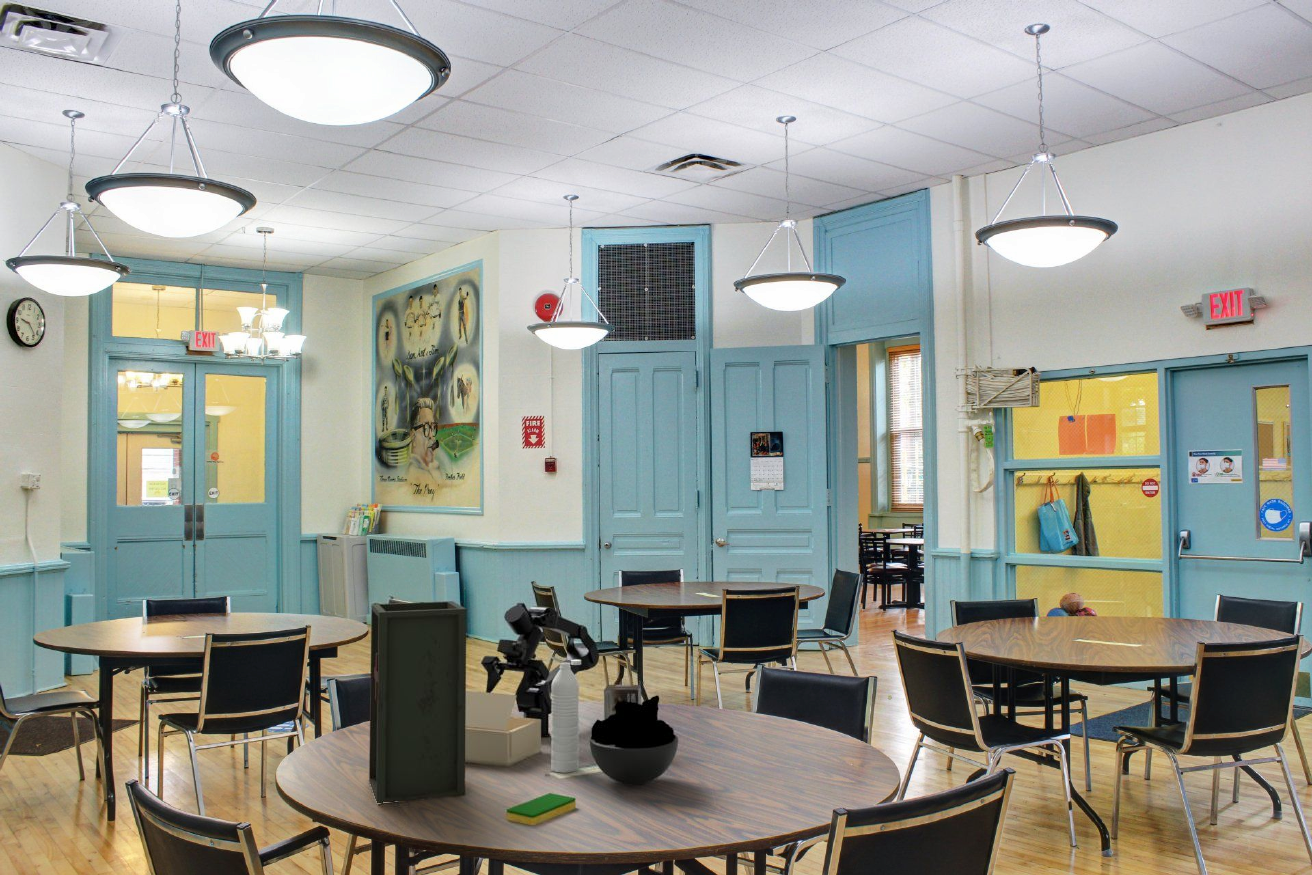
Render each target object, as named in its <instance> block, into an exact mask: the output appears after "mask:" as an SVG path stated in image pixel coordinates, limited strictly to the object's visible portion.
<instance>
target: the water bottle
mask: <svg viewBox="0 0 1312 875" xmlns="http://www.w3.org/2000/svg"><path fill="white" fill-rule="evenodd" d="M580 664H581V660H571V665H580ZM559 665H560V670H559V671H558V673H557V675H556V676H555V678H554V679H553V681H552V685H551V690H552V693H551V699H552V713H551V718H550V719H551V720H550V721H551V722H550V723H551V733H550V737H551V743H550V744H551V751H550V752H551V754H550V755H551V756H550V757H551V761H550V762H551V763H550V768H551V771H552V772H555V773H563V774H567V773H574V772H576V771H578V770H579V765H580V759H579V754H580V753H579V752H580V750H579V748H580V744H579V739H580V734H579V731H580V729H579V727H580V726H579V722H580V720H579V719H580V718H579V714H580V713H579V703H580V702H579V689H580V687H579V686H580V684H579V683H580V682H579V680H578V679H577V676H576V674H575V675H574V674H573V672H572V671H571V669H570V667H571V666H570V663H562V662H560V663H559Z"/></svg>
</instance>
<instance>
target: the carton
mask: <svg viewBox="0 0 1312 875" xmlns="http://www.w3.org/2000/svg"><path fill="white" fill-rule="evenodd" d="M541 746H542V737H541V719H531V718H523V717H519V716H510V718H509V721H508V725H507V728H506V731H503V730H493V729H483V728H473V727H465V763H471V764H478V765H479V764H481V765H489V766H490V765H491V766H497V767H506V768H507V767H510V766H513V765H514V764H517V763H520V762H521V761H523V760H525V759H528V758H530V757H532V756H534V755H536V754H538V753H541V752H542V747H541Z"/></svg>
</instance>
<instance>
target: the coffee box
mask: <svg viewBox="0 0 1312 875" xmlns="http://www.w3.org/2000/svg"><path fill="white" fill-rule="evenodd" d="M623 700H624V701H626V702H629V701H631V702H634V703H638V704H641V705H642V685H641V684H607V685H606V686H605V688H604V689H603V710H604V711H603V715H604V716H603V717H604V718H603V719H604V720H605V719H606V718H608V717H609V715H613V714H616V710H615V705H616V703H617V702H618V701H619V702H622V701H623Z"/></svg>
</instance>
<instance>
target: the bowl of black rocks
mask: <svg viewBox="0 0 1312 875" xmlns="http://www.w3.org/2000/svg"><path fill="white" fill-rule="evenodd" d="M659 702H660V696H659V694H657V695H654V696H652V697H650V698H649V699H648V700H644V701H641V704H638V703H634V702H631V701H629V702H626V701H624V700H623V701H622V702H619V701H618V702H617V703H616V705H615V710H616V714H613V715H609V717H608V718H606V719H605V720H600V719H596V721H595V722H594V723H593V724H592V726H591V733H590V734H591V736H590V738H589V747H590V753H591V756H592V758H593V761H594V762H595V764H596V765H597V766H598V768H599V769H600V770H601V772H602V773H603V774H604V775H606V777H608V778H609V779H611V780H613V781H615V782H617V783H620V784H622V785H628V786H641V785H645V784H647V783H651V782H653V781H655V780H656V779H657V778H659V777H661V776H662V775H663V774H664V773H665V772H666V771H667V770H668V769H669V768H670V766H671V765H672V763H673V761H674V759H675V757H676V755H677V750H678V746H679V737H678V736H677V734H675V731H674V728H673V727H672V726H670V724H668V723H666V721H664V720H663V719H658V713H659V710H660V709H659Z"/></svg>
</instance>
